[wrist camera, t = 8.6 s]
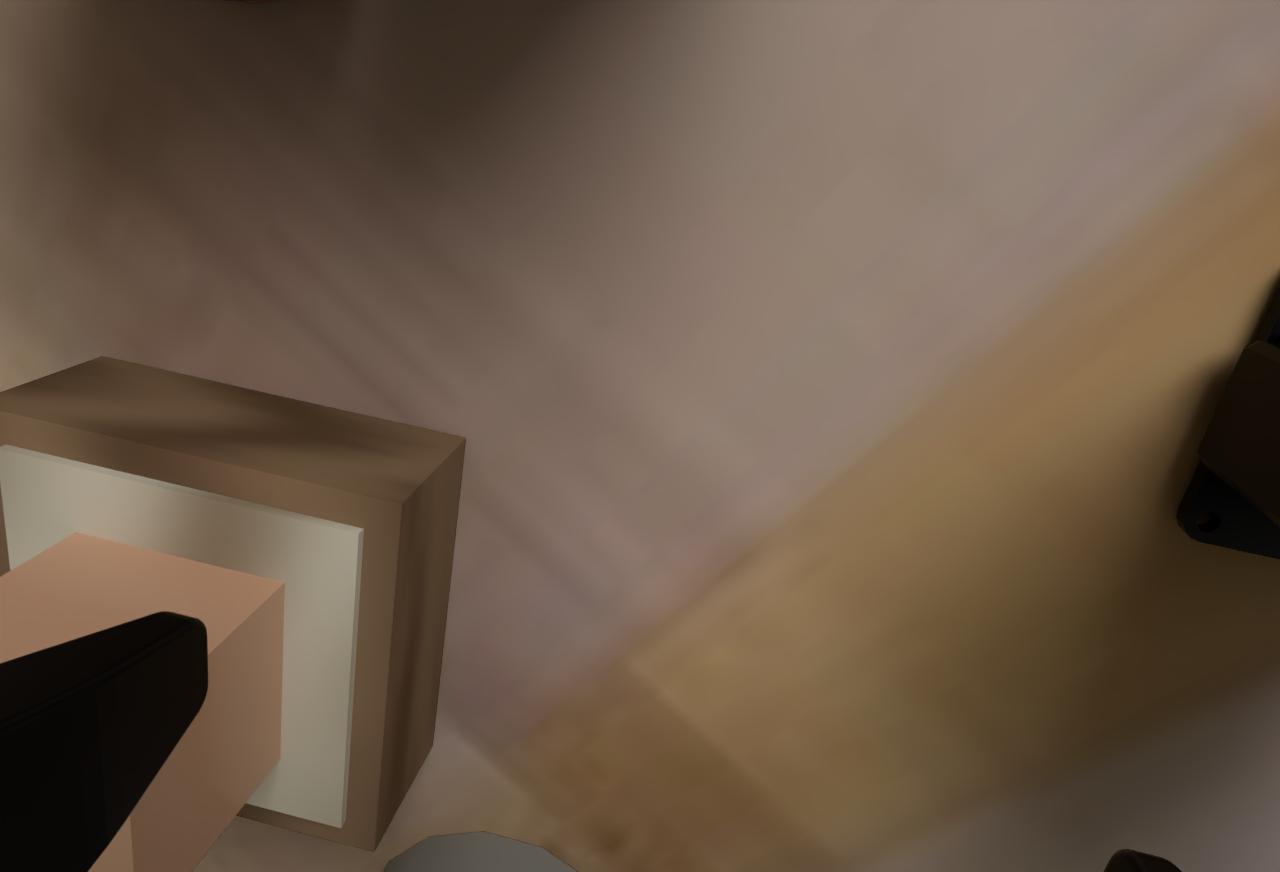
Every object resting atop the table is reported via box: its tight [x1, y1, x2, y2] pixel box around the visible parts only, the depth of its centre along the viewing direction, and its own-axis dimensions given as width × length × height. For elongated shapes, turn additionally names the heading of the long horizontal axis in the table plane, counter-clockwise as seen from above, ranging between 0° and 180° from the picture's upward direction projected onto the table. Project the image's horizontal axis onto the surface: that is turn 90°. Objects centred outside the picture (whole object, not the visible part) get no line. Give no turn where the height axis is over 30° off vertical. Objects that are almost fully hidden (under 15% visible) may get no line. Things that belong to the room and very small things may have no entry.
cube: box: [0, 532, 285, 872], centre depth 18 cm, size 5×5×5 cm
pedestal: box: [0, 356, 466, 852], centre depth 22 cm, size 10×10×4 cm
